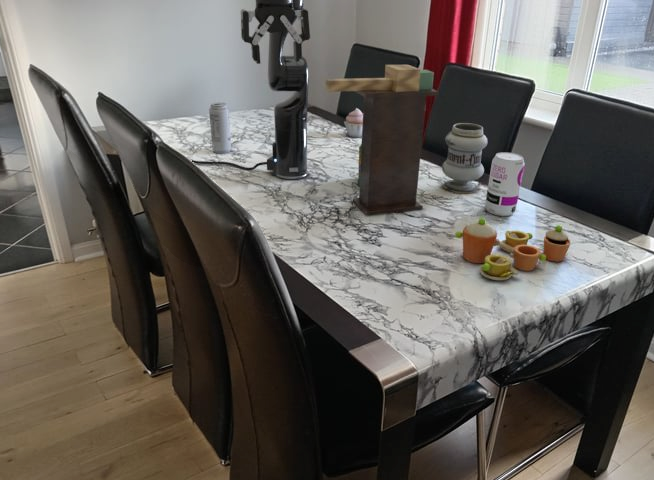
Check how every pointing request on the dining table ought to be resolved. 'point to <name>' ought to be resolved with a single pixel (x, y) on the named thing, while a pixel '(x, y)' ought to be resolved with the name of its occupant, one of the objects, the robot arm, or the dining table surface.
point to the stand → (391, 150)
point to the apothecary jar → (464, 157)
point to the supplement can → (504, 183)
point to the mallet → (381, 81)
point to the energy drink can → (220, 127)
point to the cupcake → (354, 123)
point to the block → (426, 80)
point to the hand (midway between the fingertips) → (277, 62)
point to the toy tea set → (509, 249)
